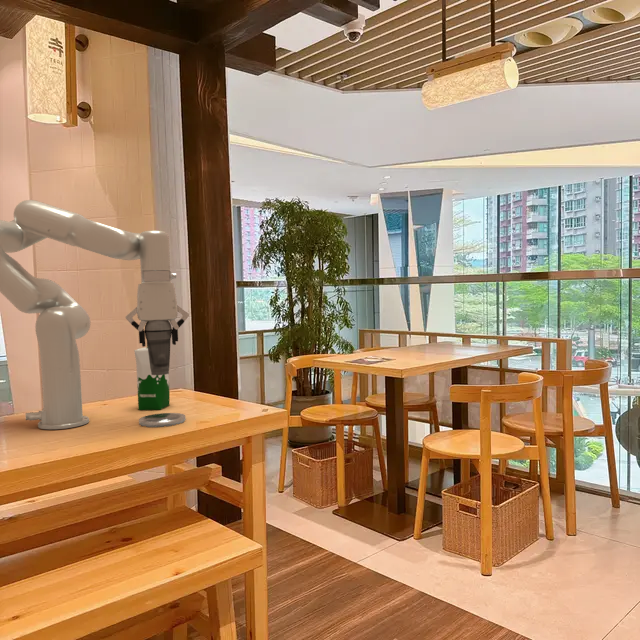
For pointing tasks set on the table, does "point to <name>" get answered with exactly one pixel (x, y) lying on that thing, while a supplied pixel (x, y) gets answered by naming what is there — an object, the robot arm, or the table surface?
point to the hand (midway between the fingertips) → (159, 344)
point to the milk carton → (150, 384)
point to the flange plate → (162, 419)
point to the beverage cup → (158, 345)
